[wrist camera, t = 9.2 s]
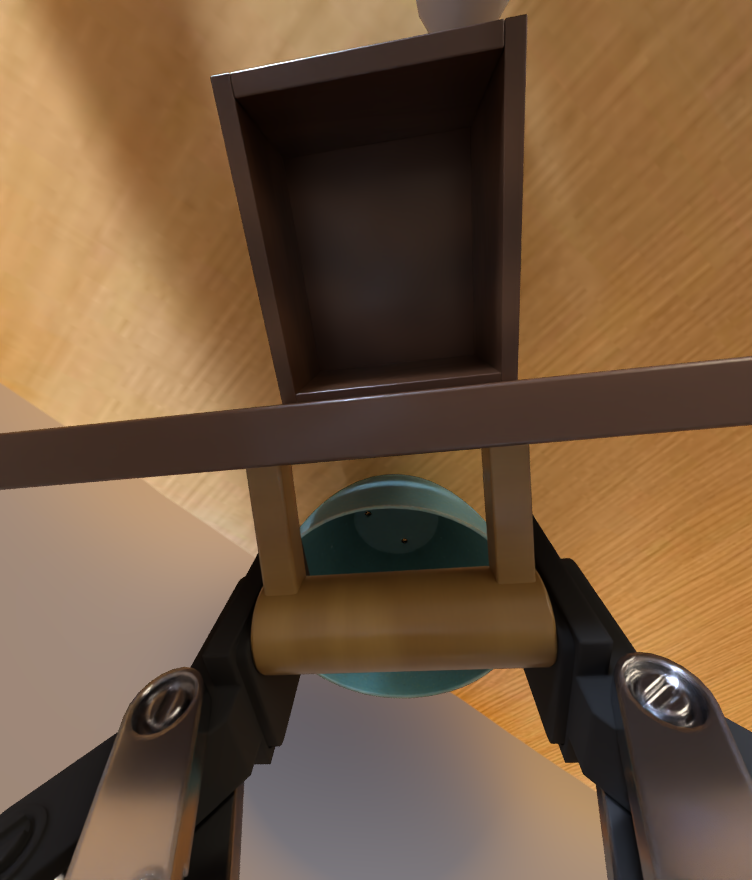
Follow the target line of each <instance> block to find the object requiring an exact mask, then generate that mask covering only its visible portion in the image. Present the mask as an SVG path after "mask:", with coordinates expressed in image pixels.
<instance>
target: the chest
mask: <svg viewBox="0 0 752 880" xmlns="http://www.w3.org/2000/svg"><path fill="white" fill-rule="evenodd" d="M526 50H527V14H525V15H520V16H515V17H510V18H506V19H505V21H504V19H501V20H495V21H490V22H485V23H480V24H475V25H470V26H465V27H460V28H455V29H450V30H445V31H440V32H435V33H429V34H424V35H419V36H414V37H409V38H404V39H399V40H394V41H389V42H384V43H379V44H374V45H369V46H363V47H358V48H353V49H348V50H343V51H338V52H333V53H328V54H323V55H318V56H313V57H308V58H303V59H297V60H292V61H287V62H282V63H277V64H272V65H267V66H262V67H257V68H252V69H247V70H242V71H237V72H231V73H230V74H229V73H225V74H220V75H215V76H211V77H210V79H211V84H212V88H213V93H214V97H215V102H216V106H217V111H218V115H219V120H220V124H221V129H222V133H223V138H224V142H225V147H226V151H227V156H228V160H229V165H230V169H231V174H232V178H233V183H234V187H235V192H236V196H237V201H238V205H239V210H240V214H241V219H242V223H243V228H244V232H245V237H246V241H247V246H248V250H249V255H250V259H251V264H252V268H253V273H254V277H255V282H256V287H257V291H258V296H259V300H260V305H261V309H262V314H263V318H264V323H265V327H266V332H267V336H268V341H269V345H270V350H271V354H272V359H273V363H274V368H275V372H276V377H277V381H278V386H279V390H280V395H281V399H282V404H291V403H301V402H311V401H320V400H330V399H340V398H349V397H359V396H369V395H378V394H388V393H398V392H408V391H417V390H427V389H437V388H446V387H456V386H466V385H476V384H485V383H495V382H505V381H514V380H518V345H519V308H520V272H521V235H522V198H523V161H524V124H525V87H526Z"/></svg>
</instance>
